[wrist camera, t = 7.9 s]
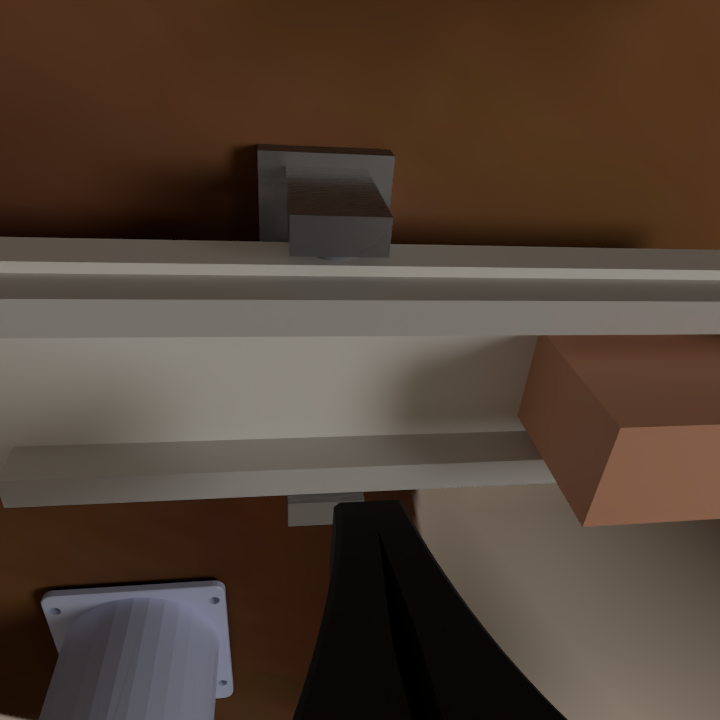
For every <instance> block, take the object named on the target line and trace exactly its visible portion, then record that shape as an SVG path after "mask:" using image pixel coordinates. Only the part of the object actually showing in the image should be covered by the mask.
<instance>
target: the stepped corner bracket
mask: <svg viewBox="0 0 720 720" xmlns="http://www.w3.org/2000/svg"><path fill="white" fill-rule="evenodd" d="M257 153H258V195H259V238H260V242H289V256H302V257H365V258H389V255H390V245H391V235H392V225H393V216H392V214H391V212H390V202H391V192H392V182H393V172H394V161H395V156H394V154H393V153H392V151H391V150H380V149H357V148H334V147H311V146H288V145H265V144H258V150H257ZM361 501H364V495H363V492H342V493H320V494H298V495H287V507H288V526H305V525H324V524H333V511H334V506H336V505H337V504H338V503H340V502H361Z"/></svg>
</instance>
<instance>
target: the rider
mask: <svg viewBox="0 0 720 720" xmlns="http://www.w3.org/2000/svg"><path fill="white" fill-rule="evenodd" d="M517 416H518V417H519V419H520V421H521V422H522V424H523V426H524V428H525V429H526V431H527V433H528V434H529V436H530V438H531V440H532V441H533V443H534V445H535V446H536V448H537V450H538V452H539V453H540V455H541V457H542V458H543V460H544V462H545V464H546V465H547V467H548V469H549V470H550V472H551V474H552V476H553V477H554V479H555V481H556V482H557V484H558V486H559V488H560V489H561V491H562V493H563V494H564V496H565V498H566V499H567V501H568V503H569V505H570V506H571V508H572V510H573V512H574V513H575V515H576V517H577V518H578V520H579V522H580V523H581V525H582V527H589V526H605V525H621V524H639V523H655V522H670V521H671V522H672V521H688V520H705V519H720V334H673V335H539V336H538V339H537V343H536V347H535V351H534V355H533V358H532V362H531V366H530V370H529V374H528V377H527V381H526V385H525V389H524V393H523V396H522V400H521V404H520V408H519V412H518V415H517Z"/></svg>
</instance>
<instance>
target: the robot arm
mask: <svg viewBox="0 0 720 720" xmlns="http://www.w3.org/2000/svg"><path fill="white" fill-rule="evenodd" d="M41 606H42V609H43V612H44V614H45V617H46V620H47V623H48V626H49V628H50V631H51V634H52V637H53V640H54V642H55V645H56V648H57V651H58V654H59V657H58V660H57V663H56V666H55V669H54V673H53V676H52V679H51V682H50V685H49V688H48V691H47V694H46V698H45V701H44V704H43V707H42V710H41V713H40V716H39V720H214V711H215V698H225V697H228V696H230V695H231V694H232V693H233V677H232V665H231V653H230V641H229V629H228V618H227V606H226V594H225V586H224V584H223V583H222V582H220V581H216V580H211V581H195V582H179V583H164V584H148V585H132V586H116V587H100V588H85V589H69V590H53V591H49V592H47V593H45V594H44V595H43V597H42V600H41ZM293 720H567V719H566V718H565V717H564V716H563V715H562V714H561V713H560V712H559V711H558V710H557V709H556V708H555V707H554V706H553V705H552V704H551V703H550V702H549V701H548V700H547V699H546V698H545V697H544V696H543V695H542V694H541V693H540V691H538V689H537V688H536V687H535V686H534V685H533V684H532V683H531V682H530V681H529V680H528V679H527V678H526V677H525V675H524V674H523V673H522V672H521V671H520V670H519V669H518V667H517V666H516V665H515V664H514V663H513V662H512V661H511V660H510V658H509V657H508V656H507V655H506V654H505V653H504V651H503V650H502V649H501V648H500V647H499V646H498V644H497V643H496V642H495V641H494V639H493V638H492V637H491V636H490V634H489V633H488V632H487V631H486V630H485V628H484V627H483V625H482V624H481V623H480V622H479V620H478V619H477V618H476V616H475V615H474V614H473V613H472V611H471V610H470V609H469V607H468V606H467V604H466V603H465V602H464V600H463V599H462V598H461V596H460V595H459V594H458V592H457V591H456V589H455V588H454V586H453V585H452V583H451V582H450V580H449V579H448V578H447V576H446V575H445V573H444V572H443V570H442V569H441V567H440V566H439V564H438V563H437V561H436V560H435V558H434V557H433V555H432V553H431V552H430V550H429V549H428V547H427V545H426V544H425V542H424V540H423V539H422V537H421V535H420V534H419V532H418V530H417V529H416V527H415V525H414V523H413V522H412V520H411V518H410V516H409V514H408V513H407V511H406V509H405V507H404V505H403V503H401V502H400V501H399V500H384V501H361V502H340V503H338V504H337V505H336V506H334V511H333V525H332V540H331V555H330V585H329V591H328V596H327V601H326V605H325V609H324V614H323V618H322V622H321V626H320V631H319V635H318V639H317V643H316V646H315V650H314V654H313V657H312V661H311V664H310V667H309V671H308V674H307V677H306V681H305V684H304V687H303V690H302V693H301V696H300V699H299V702H298V705H297V708H296V711H295V714H294V717H293Z"/></svg>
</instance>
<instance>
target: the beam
mask: <svg viewBox="0 0 720 720" xmlns="http://www.w3.org/2000/svg"><path fill="white" fill-rule="evenodd" d="M673 334H720V250H689V249H635V248H580V247H526V246H471V245H417V244H391V245H390V255H389V258H365V257H302V256H289V242H253V241H199V240H144V239H90V238H36V237H0V497H1V500H2V503H3V506H4V508H13V507H35V506H57V505H79V504H101V503H123V502H144V501H166V500H188V499H210V498H232V497H254V496H276V495H298V494H320V493H342V492H364V491H386V490H408V489H428V488H452V487H474V486H495V485H517V484H539V483H557V482H556V481H555V479H554V477H553V476H552V474H551V472H550V470H549V469H548V467H547V465H546V464H545V462H544V460H543V458H542V457H541V455H540V453H539V452H538V450H537V448H536V446H535V445H534V443H533V441H532V440H531V438H530V436H529V434H528V433H527V431H526V429H525V428H524V426H523V424H522V422H521V421H520V419H519V417H518V416H517V415H518V412H519V408H520V404H521V400H522V396H523V393H524V389H525V385H526V381H527V377H528V374H529V370H530V366H531V362H532V358H533V355H534V351H535V347H536V343H537V339H538V336H539V335H673Z"/></svg>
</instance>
